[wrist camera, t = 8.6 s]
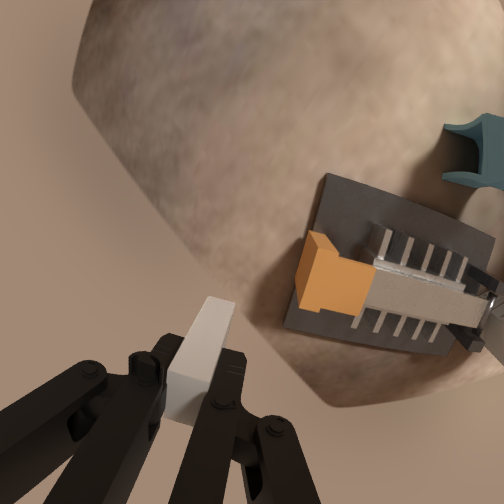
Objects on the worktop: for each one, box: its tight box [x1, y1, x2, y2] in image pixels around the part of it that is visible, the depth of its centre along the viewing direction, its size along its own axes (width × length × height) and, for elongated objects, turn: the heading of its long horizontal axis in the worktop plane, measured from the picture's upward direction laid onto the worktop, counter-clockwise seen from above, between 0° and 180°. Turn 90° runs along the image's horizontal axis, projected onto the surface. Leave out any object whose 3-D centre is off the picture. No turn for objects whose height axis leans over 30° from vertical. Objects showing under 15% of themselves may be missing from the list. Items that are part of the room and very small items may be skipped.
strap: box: [364, 266, 498, 337], centre depth 28 cm, size 6×20×2 cm, turn 76°
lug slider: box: [295, 230, 377, 316], centre depth 30 cm, size 6×6×8 cm
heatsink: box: [283, 173, 504, 356], centre depth 31 cm, size 20×28×8 cm
